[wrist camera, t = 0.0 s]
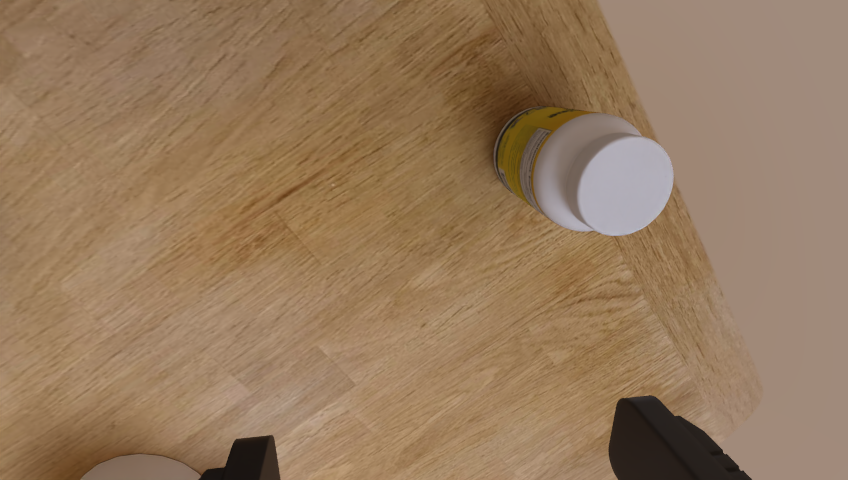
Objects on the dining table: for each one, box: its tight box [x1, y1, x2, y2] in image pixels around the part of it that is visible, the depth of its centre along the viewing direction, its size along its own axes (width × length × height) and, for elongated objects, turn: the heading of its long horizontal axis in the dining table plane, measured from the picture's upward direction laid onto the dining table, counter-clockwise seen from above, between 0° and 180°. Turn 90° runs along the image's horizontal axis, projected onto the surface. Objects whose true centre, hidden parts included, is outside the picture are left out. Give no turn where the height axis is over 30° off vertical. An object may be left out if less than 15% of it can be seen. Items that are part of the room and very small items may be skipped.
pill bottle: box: [494, 106, 673, 236], centre depth 25 cm, size 6×6×11 cm
